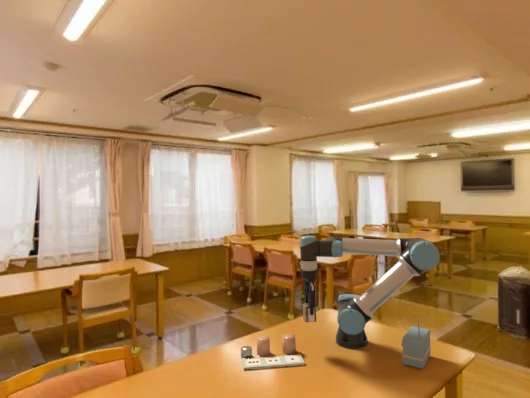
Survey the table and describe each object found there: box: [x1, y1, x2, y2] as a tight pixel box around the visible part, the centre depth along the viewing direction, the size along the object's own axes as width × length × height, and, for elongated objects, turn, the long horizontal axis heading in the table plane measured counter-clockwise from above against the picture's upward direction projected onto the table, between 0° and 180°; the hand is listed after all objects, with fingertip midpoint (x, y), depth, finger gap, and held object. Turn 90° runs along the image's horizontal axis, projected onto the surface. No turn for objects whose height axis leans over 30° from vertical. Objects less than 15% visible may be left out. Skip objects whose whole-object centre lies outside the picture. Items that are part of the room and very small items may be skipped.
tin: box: [240, 345, 253, 359], centre depth 156 cm, size 5×5×4 cm
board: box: [242, 354, 306, 370], centre depth 149 cm, size 26×8×1 cm, turn 97°
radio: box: [401, 320, 431, 369], centre depth 149 cm, size 16×9×20 cm, turn 145°
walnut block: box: [302, 303, 317, 323], centre depth 161 cm, size 5×5×7 cm
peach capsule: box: [282, 333, 297, 355], centre depth 160 cm, size 6×6×7 cm
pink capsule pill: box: [256, 335, 271, 357], centre depth 159 cm, size 6×6×7 cm
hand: (309, 319), depth 161 cm, fingers closed on walnut block, 5 cm apart
